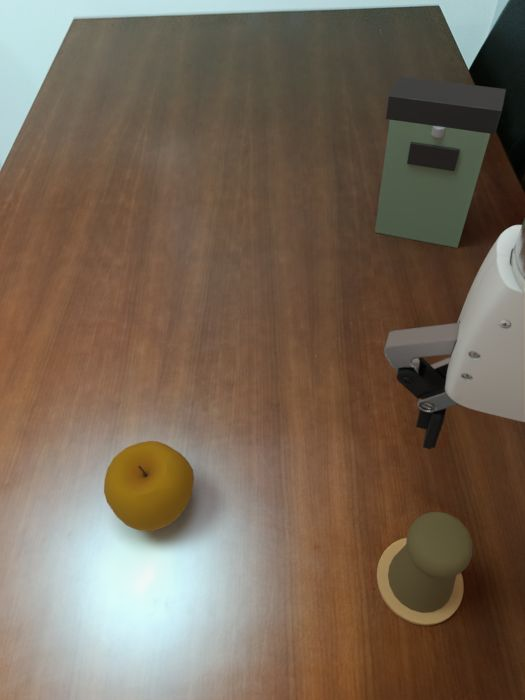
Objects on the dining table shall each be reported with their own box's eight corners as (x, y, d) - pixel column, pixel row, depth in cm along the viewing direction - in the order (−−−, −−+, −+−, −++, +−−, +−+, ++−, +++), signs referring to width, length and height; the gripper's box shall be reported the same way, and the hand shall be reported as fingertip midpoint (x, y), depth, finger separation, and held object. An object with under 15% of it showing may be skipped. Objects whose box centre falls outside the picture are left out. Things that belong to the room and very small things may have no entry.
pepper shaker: (459, 562, 56) (489, 517, 47) (444, 624, 52) (473, 588, 44) (398, 537, 57) (416, 489, 49) (379, 595, 54) (395, 556, 45)
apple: (203, 468, 64) (192, 427, 57) (195, 546, 58) (181, 511, 51) (126, 467, 64) (106, 426, 57) (111, 544, 59) (86, 509, 52)
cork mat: (467, 553, 57) (469, 551, 56) (455, 638, 52) (457, 637, 52) (386, 528, 59) (386, 526, 58) (367, 608, 54) (368, 606, 54)
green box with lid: (465, 226, 86) (506, 88, 69) (460, 251, 83) (501, 112, 66) (378, 211, 89) (397, 75, 72) (370, 234, 86) (387, 98, 69)
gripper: (845, 222, 24) (653, 433, 37) (419, 166, 28) (385, 373, 42) (900, 363, 20) (662, 544, 33) (388, 271, 24) (361, 464, 37)
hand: (507, 448), depth 37 cm, fingers open, 9 cm apart
